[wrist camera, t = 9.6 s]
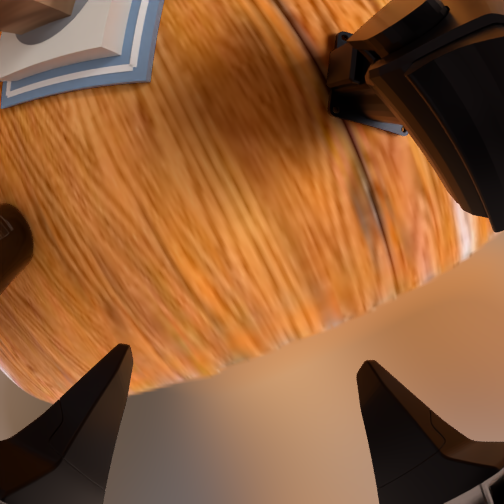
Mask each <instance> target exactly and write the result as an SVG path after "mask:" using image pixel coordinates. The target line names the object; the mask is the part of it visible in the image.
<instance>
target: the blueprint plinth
mask: <svg viewBox="0 0 504 504" xmlns="http://www.w3.org/2000/svg"><path fill="white" fill-rule="evenodd" d="M163 4H164V0H76V1H75V4H74V7H73V11H72V15H71V16H69V17H65V18H62V19H60V20H57V21H54V22H51V23H48V24H46V25H43V26H41V27H38V28H36V29H33V30H31V31H29V32H27V33H24V34H22V35H19V34H14V33H8V32H2V34H1V38H0V81H3V87H2V97H1V109H4V108H9V107H12V106H15V105H19V104H22V103H25V102H29V101H32V100H36V99H40V98H44V97H48V96H52V95H57V94H61V93H66V92H71V91H77V90H82V89H88V88H95V87H102V86H110V85H119V84H130V83H144V82H151V73H152V66H153V58H154V52H155V45H156V39H157V33H158V28H159V23H160V18H161V13H162V8H163Z"/></svg>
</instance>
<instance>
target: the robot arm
mask: <svg viewBox="0 0 504 504" xmlns="http://www.w3.org/2000/svg"><path fill="white" fill-rule="evenodd" d="M341 36H344V37H345V38H346V41H344V40H343V39H342V38H341ZM327 86H328V87H329V88H330V93H329V101H328V108H327V109H328V113H329V114H330V115H331V116H333V117H337V118H341V119H345V120H350V121H353V122H357V123H361V124H365V125H368V126H372V127H375V128H379V129H382V130H385V131H389V132H392V133H395V134H398V135H402V136H406V135H407V134H408V133H409V134H410V136H411V137H412V138H413V140H414V141H415V142H416V144H417V145H418V146H419V148H420V149H421V151H422V152H423V154H424V155H425V156H426V158H427V159H428V161H429V162H430V164H431V165H432V167H433V168H434V170H435V172H436V173H437V175H438V176H439V178H440V180H441V181H442V183H443V184H444V186H445V188H446V189H447V191H448V193H449V194H450V195H451V196H452V197H453V199H454V200H455V201H456V202H457V203H458V204H460V206H461V208H462V209H463V210H464V211H466V212H468V213H470V214H472V215H476V216H482V217H486V218H489V220H490V223H491V226H492V229H493V231H494V232H496V233H497V232H500V231H503V230H504V0H392V1H390V2H389V3H388V4H387V5H386V6H384V7H383V8H382V9H381V10H380V11H379V12H377V13H376V14H375V15H374V16H373V17H372V18H371V19H369V20H368V21H367V22H366V23H365V24H364V25H363V26H362V27H361V28H359V29H358V30H357V31H356V32H355V33H354V34H351V33H348V32H340V33H338V34H337V35H336V41H335V50H333V51H332V52H330V59H329V68H328V76H327ZM333 107H337V108H338V112H337V113H334V111H333ZM402 126H403V128H404V131H403V132H402V131H401V128H402ZM132 367H133V357H132V352H131V347H130V346H129V345H127V344H122V343H120V344H118V345H117V346H116V347H114V348H113V349H112V350H111V351H110V352H109V353H108V354H107V355H106V356H105V357H104V358H102V359H101V360H100V361H99V362H98V363H97V364H96V365H95V366H94V367H93V368H92V369H91V370H90V371H88V372H87V373H86V374H85V375H84V376H83V377H82V378H81V379H80V380H79V381H78V382H77V383H76V384H75V385H73V386H72V387H71V388H70V389H69V390H68V391H67V392H66V393H65V394H64V395H63V396H62V397H61V398H60V400H58V401H56V402H55V403H54V404H53V405H52V406H51V407H50V408H49V409H48V410H47V411H46V412H45V413H43V414H42V415H41V416H40V417H39V418H37V419H36V420H34V421H33V422H32V423H30V424H29V425H28V426H26V427H25V428H24V429H22V430H21V431H20V432H18V433H17V434H16V435H14V436H12V437H11V438H9V439H6V440H3V441H0V504H103V501H104V495H105V489H106V484H107V479H108V474H109V470H110V465H111V460H112V456H113V452H114V448H115V443H116V439H117V435H118V432H119V427H120V423H121V420H122V416H123V413H124V409H125V406H126V402H127V397H128V391H129V385H130V379H131V373H132ZM357 385H358V393H359V400H360V407H361V412H362V417H363V421H364V425H365V430H366V434H367V439H368V444H369V448H370V453H371V458H372V463H373V469H374V474H375V479H376V485H377V491H378V498H379V504H504V442H480V441H473V440H470V439H468V438H467V437H465V436H464V435H463V434H461V433H460V432H458V431H457V430H456V429H454V428H453V427H451V426H450V425H448V424H447V423H446V422H445V421H443V420H442V419H441V418H440V417H439V416H438V415H436V414H435V413H434V412H433V411H432V410H430V408H428V407H427V406H426V405H425V404H424V403H423V402H422V401H421V400H419V399H418V398H417V397H416V396H415V395H413V393H411V392H410V391H409V390H408V389H407V388H406V387H405V386H404V385H402V384H401V383H400V382H399V381H398V380H397V379H396V378H394V377H393V376H392V375H391V374H390V373H389V372H388V371H387V370H385V369H384V368H383V367H382V366H381V365H380V364H378V363H377V362H376V361H375V360H367V361H365V362H364V364H363V365H362V366H361V368H360V369H359V371H358V373H357Z"/></svg>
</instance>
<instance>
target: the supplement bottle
mask: <svg viewBox="0 0 504 504" xmlns="http://www.w3.org/2000/svg"><path fill="white" fill-rule="evenodd" d="M32 255H33V238H32V233H31V230H30V227H29V225H28V223H27V221H26V219H25V218H24V216H23V215H22V214H21V212H20V211H19V210H18V209H16V208H15V207H14V206H12V205H10V204H6V203H2V204H0V295H1V294H2V292H3V291H4V290H5V289H6V288H7V287H8V286H9V284H10V283H11V282H12V281H13V280H14V279H15V278H16V277H17V276H18V275H19V273H20V272H21V271H22V270H23V269H24V268H25V267H26V266H27V265H28V264H29V262H30V260H31V258H32Z"/></svg>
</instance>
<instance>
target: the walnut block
mask: <svg viewBox="0 0 504 504" xmlns="http://www.w3.org/2000/svg"><path fill="white" fill-rule="evenodd" d="M75 1H76V0H0V31H1V32H8V33H14V34H19V35H22V34H24V33H27V32H29V31H31V30H33V29H36V28H38V27H41V26H43V25H46V24H48V23H51V22H54V21H57V20H60V19H62V18H65V17H69V16H71V15H72V11H73V7H74V4H75Z"/></svg>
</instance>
